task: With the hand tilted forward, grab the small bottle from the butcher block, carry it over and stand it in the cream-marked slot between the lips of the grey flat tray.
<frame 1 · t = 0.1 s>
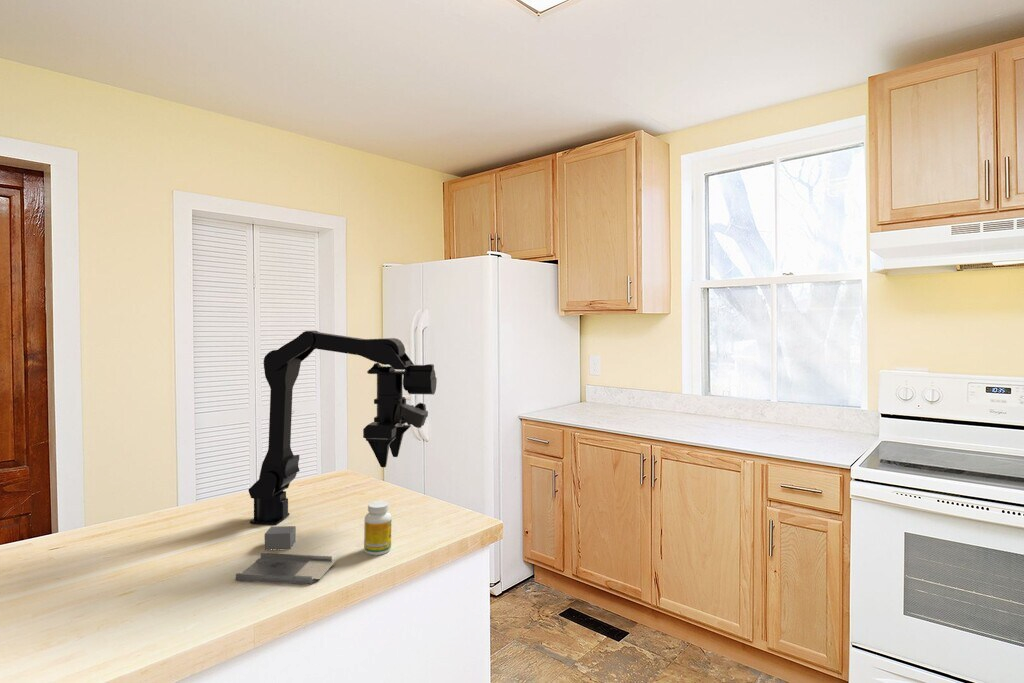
hand: (389, 461, 127), 15 cm above the counter, tool pointing down, fingers open, 9 cm apart
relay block: (280, 546, 115), on the counter
grey flat tray: (285, 571, 104), on the counter
supplement bottle: (377, 551, 114), on the counter
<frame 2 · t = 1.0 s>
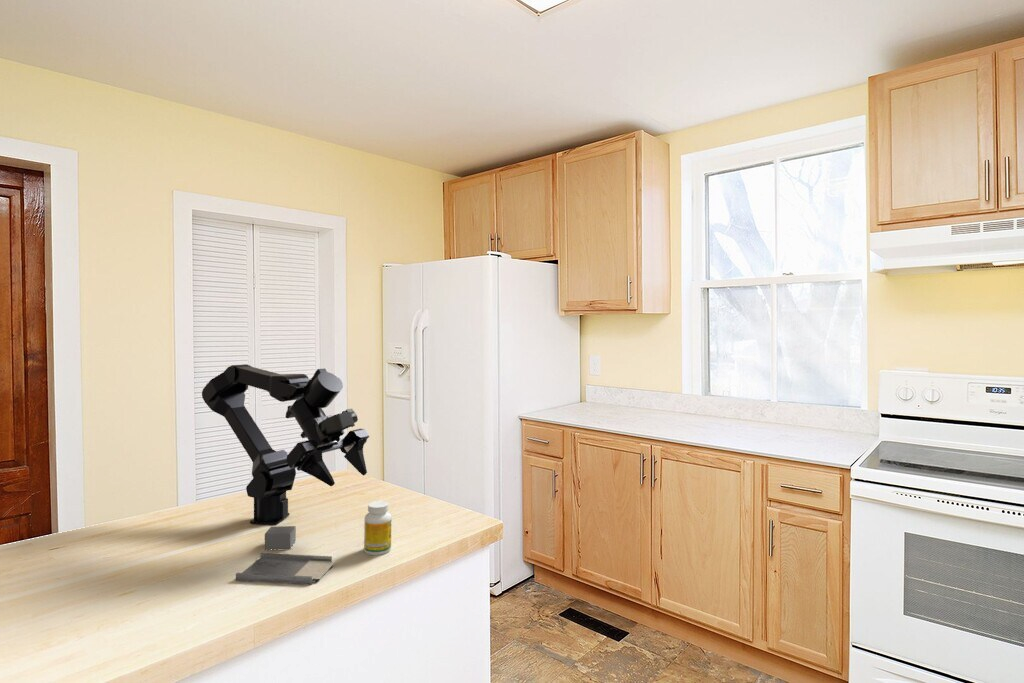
hand: (349, 479, 117), 13 cm above the counter, tool tilted 45°, fingers open, 9 cm apart
nothing on the counter moved.
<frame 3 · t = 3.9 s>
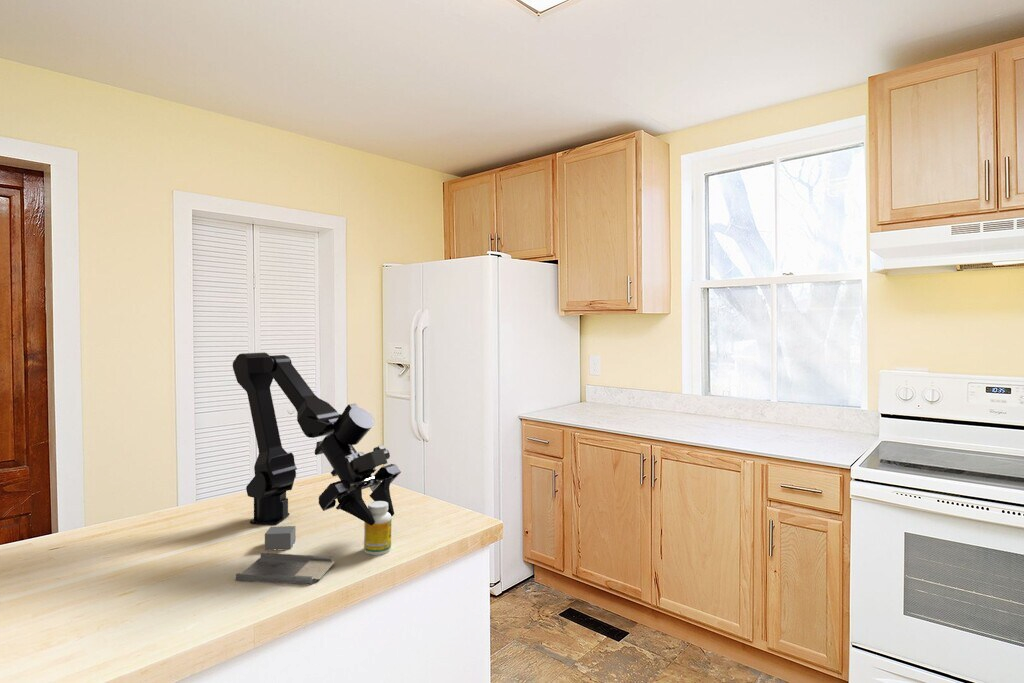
hand: (383, 519, 113), 7 cm above the counter, tool tilted 45°, fingers closed on supplement bottle, 5 cm apart
supplement bottle: (377, 551, 114), on the counter, touching gripper
everything else where it was.
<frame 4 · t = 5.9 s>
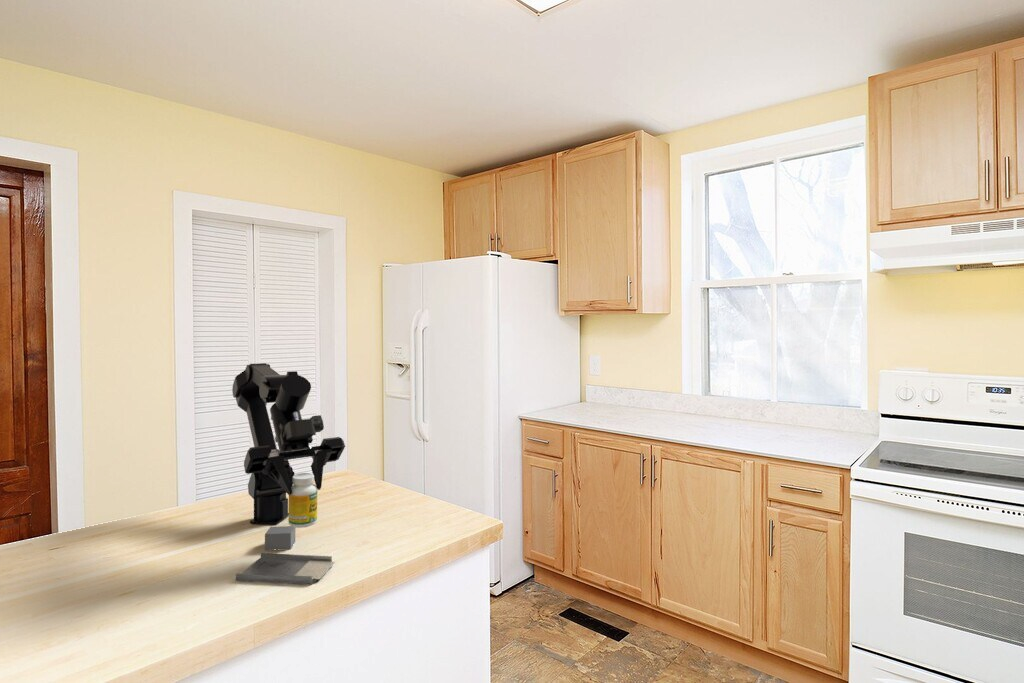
hand: (305, 491, 109), 13 cm above the counter, tool tilted 45°, fingers closed on supplement bottle, 5 cm apart
supplement bottle: (302, 524, 111), point 6 cm above the counter, touching gripper
everything else where it was.
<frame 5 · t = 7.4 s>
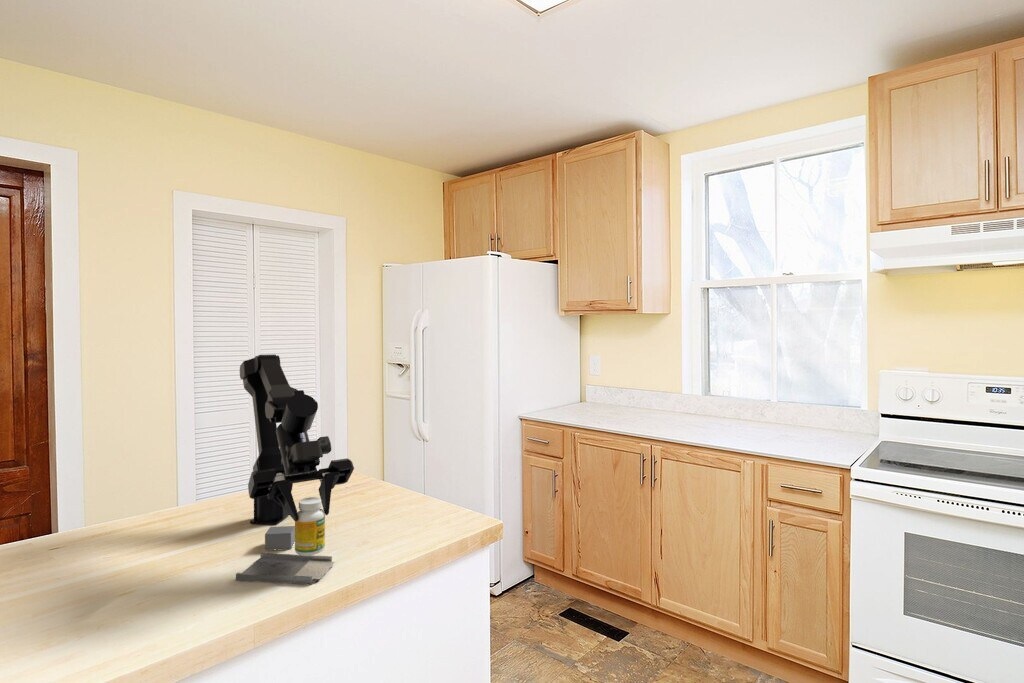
hand: (312, 517, 104), 10 cm above the counter, tool tilted 45°, fingers closed on supplement bottle, 5 cm apart
supplement bottle: (309, 551, 105), point 3 cm above the counter, touching gripper
everything else where it was.
when the fingers open (8 cm above the counter, at t = 8.4 s): supplement bottle stays where it is, resting on grey flat tray.
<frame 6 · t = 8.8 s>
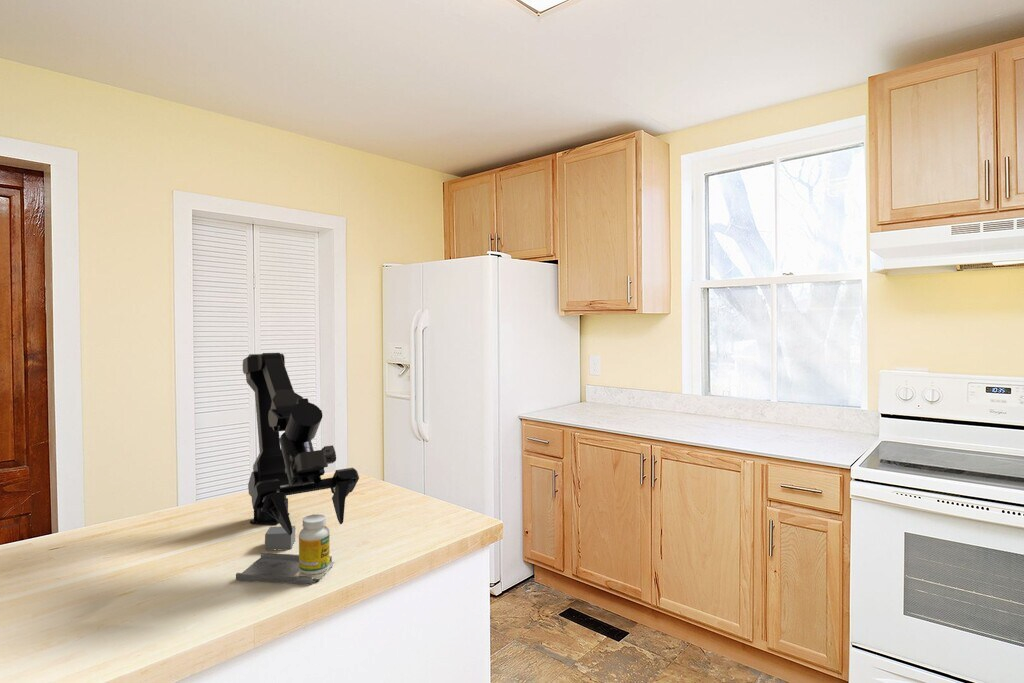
hand: (316, 528, 102), 9 cm above the counter, tool tilted 45°, fingers open, 9 cm apart
supplement bottle: (314, 569, 103), resting on grey flat tray
everything else where it was.
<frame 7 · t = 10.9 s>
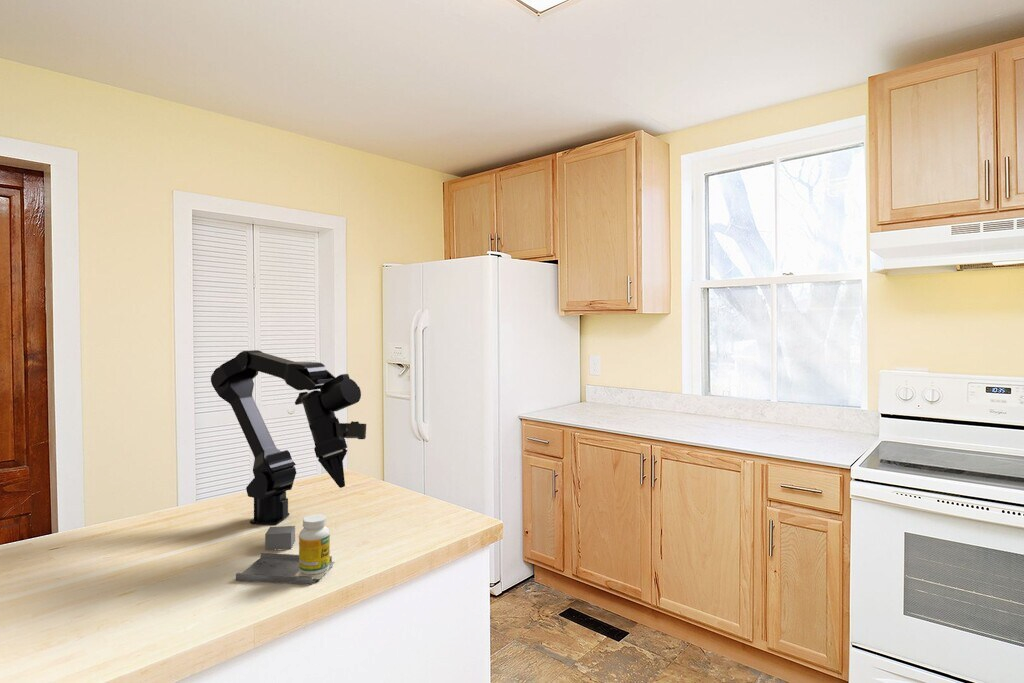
hand: (342, 486, 120), 11 cm above the counter, tool tilted 20°, fingers open, 9 cm apart
nothing on the counter moved.
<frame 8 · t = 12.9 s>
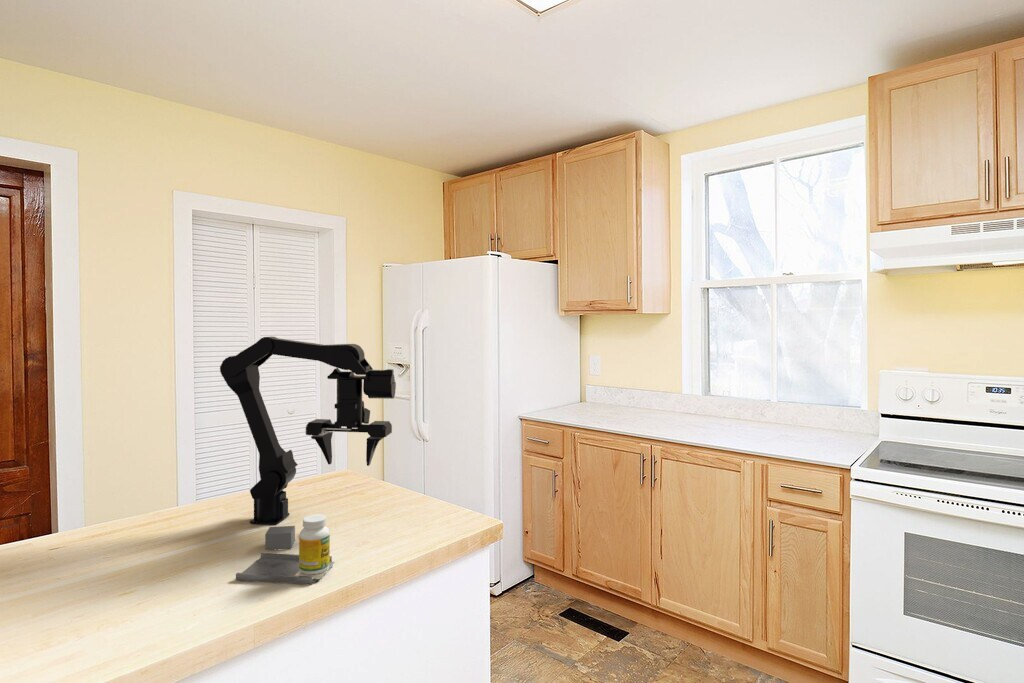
hand: (349, 464, 130), 13 cm above the counter, tool pointing down, fingers open, 9 cm apart
nothing on the counter moved.
at the end: supplement bottle 0.2 cm from the target spot on the grey flat tray, point 0.4 cm above the grey flat tray's base; supplement bottle tilted 0°; the gripper is holding nothing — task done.
